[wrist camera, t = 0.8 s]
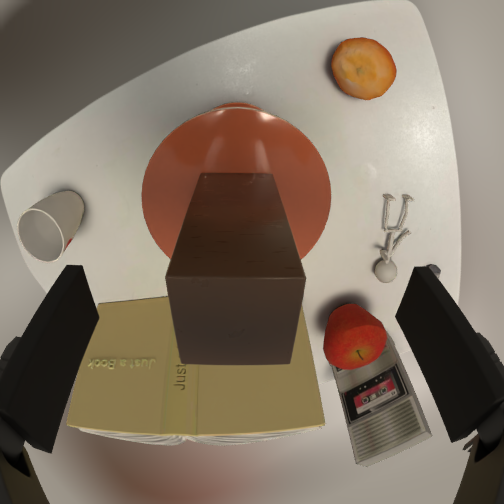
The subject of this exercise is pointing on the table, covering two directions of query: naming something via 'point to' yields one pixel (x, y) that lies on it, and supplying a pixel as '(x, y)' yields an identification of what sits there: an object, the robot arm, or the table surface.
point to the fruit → (363, 68)
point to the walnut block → (235, 274)
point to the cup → (50, 225)
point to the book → (186, 386)
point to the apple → (353, 337)
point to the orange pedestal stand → (236, 170)
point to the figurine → (391, 245)
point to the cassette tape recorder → (380, 408)
